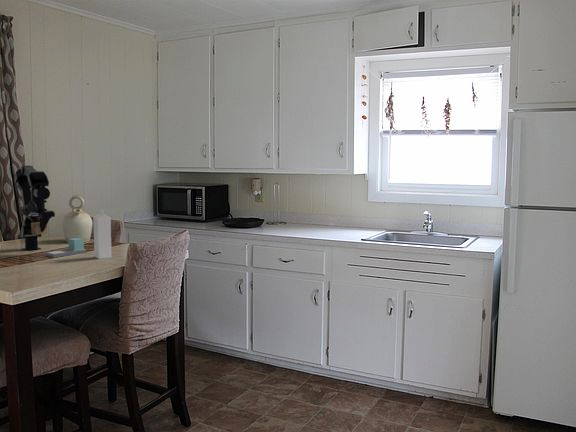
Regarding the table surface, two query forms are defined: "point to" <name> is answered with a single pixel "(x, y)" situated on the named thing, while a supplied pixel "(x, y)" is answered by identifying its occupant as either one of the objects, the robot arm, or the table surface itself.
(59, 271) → the table surface
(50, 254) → the baseplate
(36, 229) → the walnut block
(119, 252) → the table surface
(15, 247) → the table surface
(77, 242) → the teal block
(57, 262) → the table surface
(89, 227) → the jug
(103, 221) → the milk
